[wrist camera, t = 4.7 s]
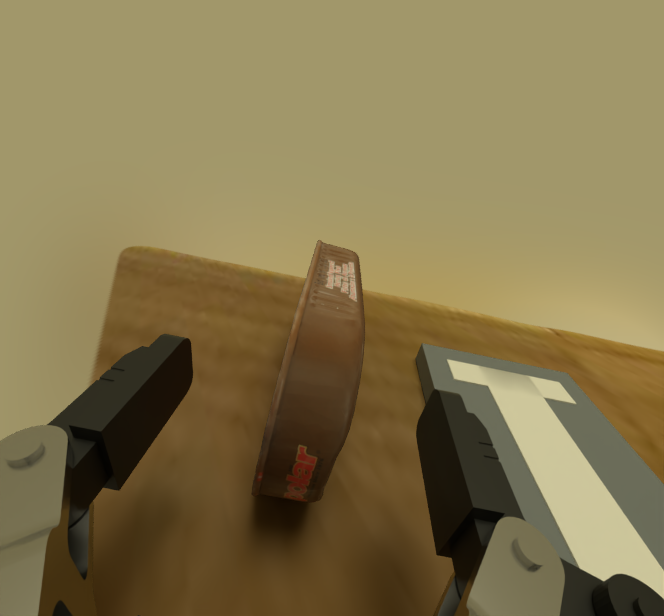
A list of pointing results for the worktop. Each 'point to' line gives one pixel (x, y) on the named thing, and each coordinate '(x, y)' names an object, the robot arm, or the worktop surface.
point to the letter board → (561, 462)
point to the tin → (315, 381)
